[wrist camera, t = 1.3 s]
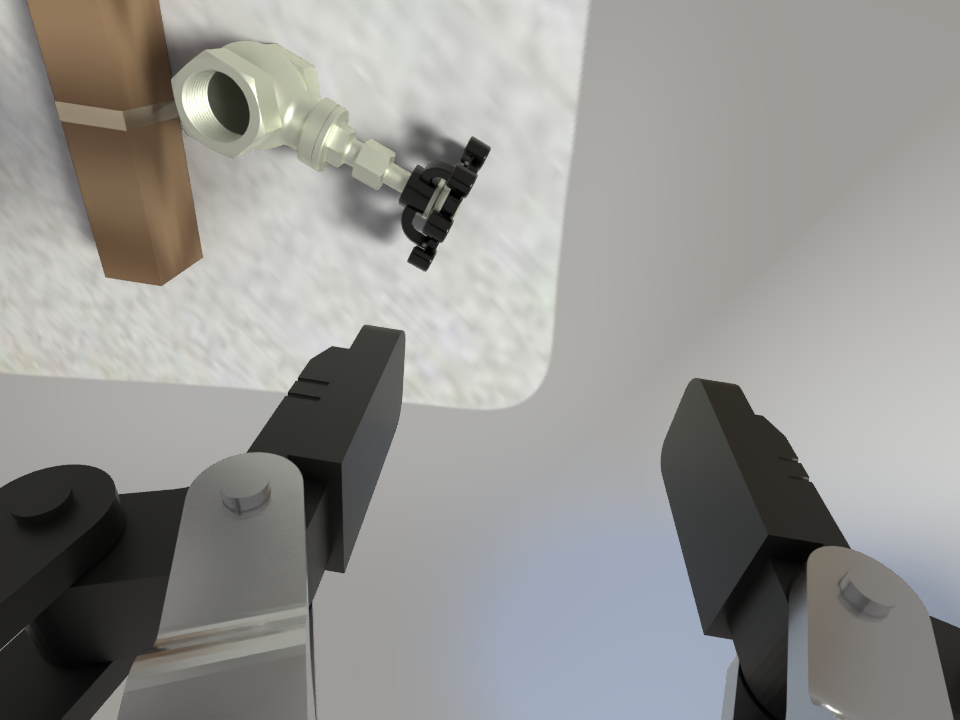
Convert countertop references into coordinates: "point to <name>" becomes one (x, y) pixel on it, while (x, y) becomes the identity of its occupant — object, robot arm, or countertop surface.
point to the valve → (312, 132)
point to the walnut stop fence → (122, 132)
